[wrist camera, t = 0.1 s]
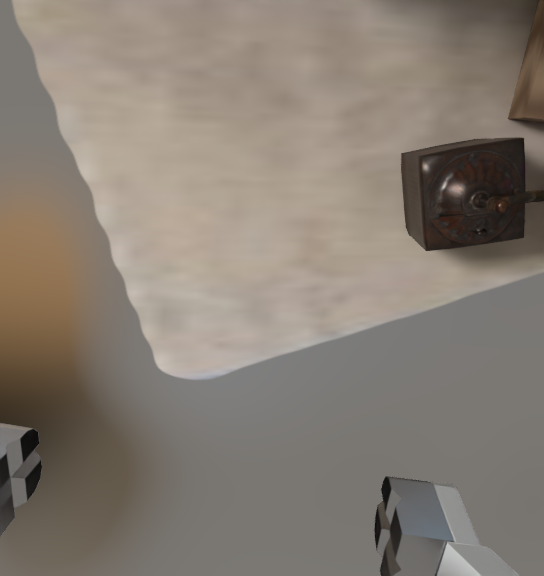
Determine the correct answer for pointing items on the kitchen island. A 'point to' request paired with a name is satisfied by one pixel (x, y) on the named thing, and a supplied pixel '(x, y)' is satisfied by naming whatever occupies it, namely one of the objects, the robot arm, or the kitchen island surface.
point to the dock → (531, 75)
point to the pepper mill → (466, 193)
